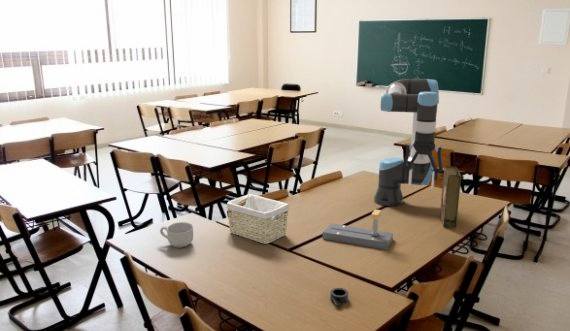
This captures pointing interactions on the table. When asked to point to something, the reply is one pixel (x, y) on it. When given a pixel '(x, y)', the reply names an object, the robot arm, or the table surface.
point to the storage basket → (258, 218)
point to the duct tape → (339, 296)
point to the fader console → (357, 236)
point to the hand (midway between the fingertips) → (421, 186)
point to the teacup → (179, 234)
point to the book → (450, 196)
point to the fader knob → (375, 222)
